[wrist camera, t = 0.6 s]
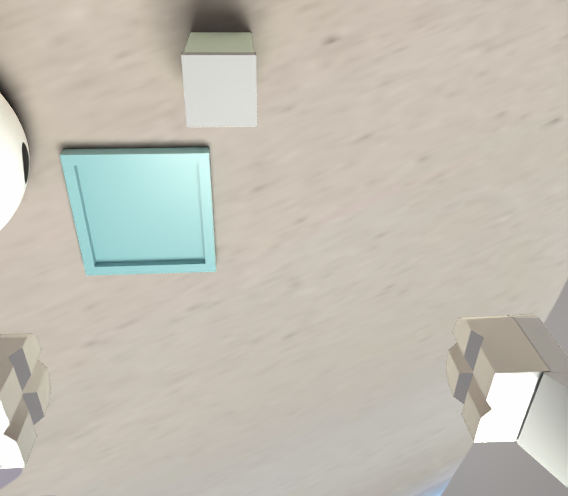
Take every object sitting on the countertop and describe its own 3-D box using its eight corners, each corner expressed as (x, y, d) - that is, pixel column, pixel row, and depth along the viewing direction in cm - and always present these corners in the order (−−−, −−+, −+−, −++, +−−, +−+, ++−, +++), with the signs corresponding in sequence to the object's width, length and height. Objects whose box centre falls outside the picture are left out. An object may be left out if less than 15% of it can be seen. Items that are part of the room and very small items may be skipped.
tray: (64, 148, 49) (59, 155, 48) (209, 147, 50) (208, 153, 49) (89, 267, 56) (86, 275, 55) (216, 263, 57) (215, 271, 56)
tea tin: (188, 30, 44) (181, 55, 38) (252, 31, 45) (256, 55, 38) (193, 94, 47) (186, 127, 40) (253, 93, 48) (256, 126, 41)
